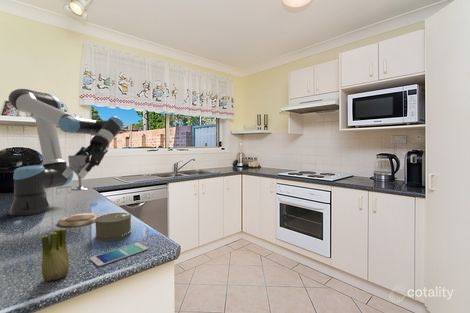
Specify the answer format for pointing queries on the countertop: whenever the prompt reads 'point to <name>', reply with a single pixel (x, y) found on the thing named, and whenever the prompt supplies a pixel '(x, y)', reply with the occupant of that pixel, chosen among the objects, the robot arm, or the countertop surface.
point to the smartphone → (117, 254)
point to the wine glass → (78, 166)
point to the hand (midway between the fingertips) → (72, 176)
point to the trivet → (78, 220)
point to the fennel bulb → (54, 255)
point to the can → (113, 226)
